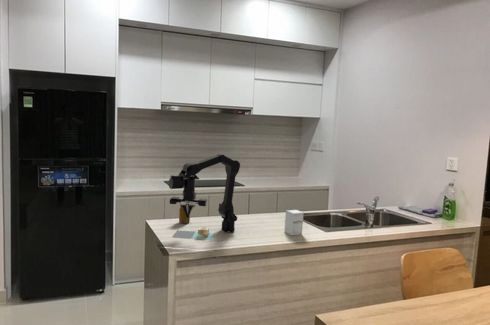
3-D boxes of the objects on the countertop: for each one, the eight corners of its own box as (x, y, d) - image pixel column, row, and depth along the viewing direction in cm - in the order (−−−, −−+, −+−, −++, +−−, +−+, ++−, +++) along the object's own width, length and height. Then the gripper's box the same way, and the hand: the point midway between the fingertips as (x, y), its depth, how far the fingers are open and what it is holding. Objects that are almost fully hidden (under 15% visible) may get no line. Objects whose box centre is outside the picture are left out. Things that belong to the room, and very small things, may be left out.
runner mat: (214, 233, 209) (214, 232, 209) (210, 241, 197) (210, 239, 197) (177, 231, 210) (177, 230, 210) (171, 238, 198) (171, 237, 198)
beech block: (208, 234, 205) (209, 227, 205) (207, 237, 200) (207, 230, 200) (199, 234, 205) (199, 226, 205) (197, 237, 201) (198, 229, 200)
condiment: (186, 221, 230) (187, 201, 229) (194, 225, 224) (194, 204, 222) (175, 223, 226) (176, 202, 224) (183, 226, 219) (183, 205, 218)
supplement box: (291, 236, 213) (292, 213, 211) (283, 232, 219) (285, 210, 218) (302, 234, 216) (304, 212, 215) (294, 230, 223) (296, 209, 221)
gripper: (209, 186, 208) (208, 214, 210) (174, 184, 209) (173, 212, 211) (206, 190, 197) (204, 220, 199) (169, 187, 198) (168, 217, 200)
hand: (187, 217), depth 202 cm, fingers closed
